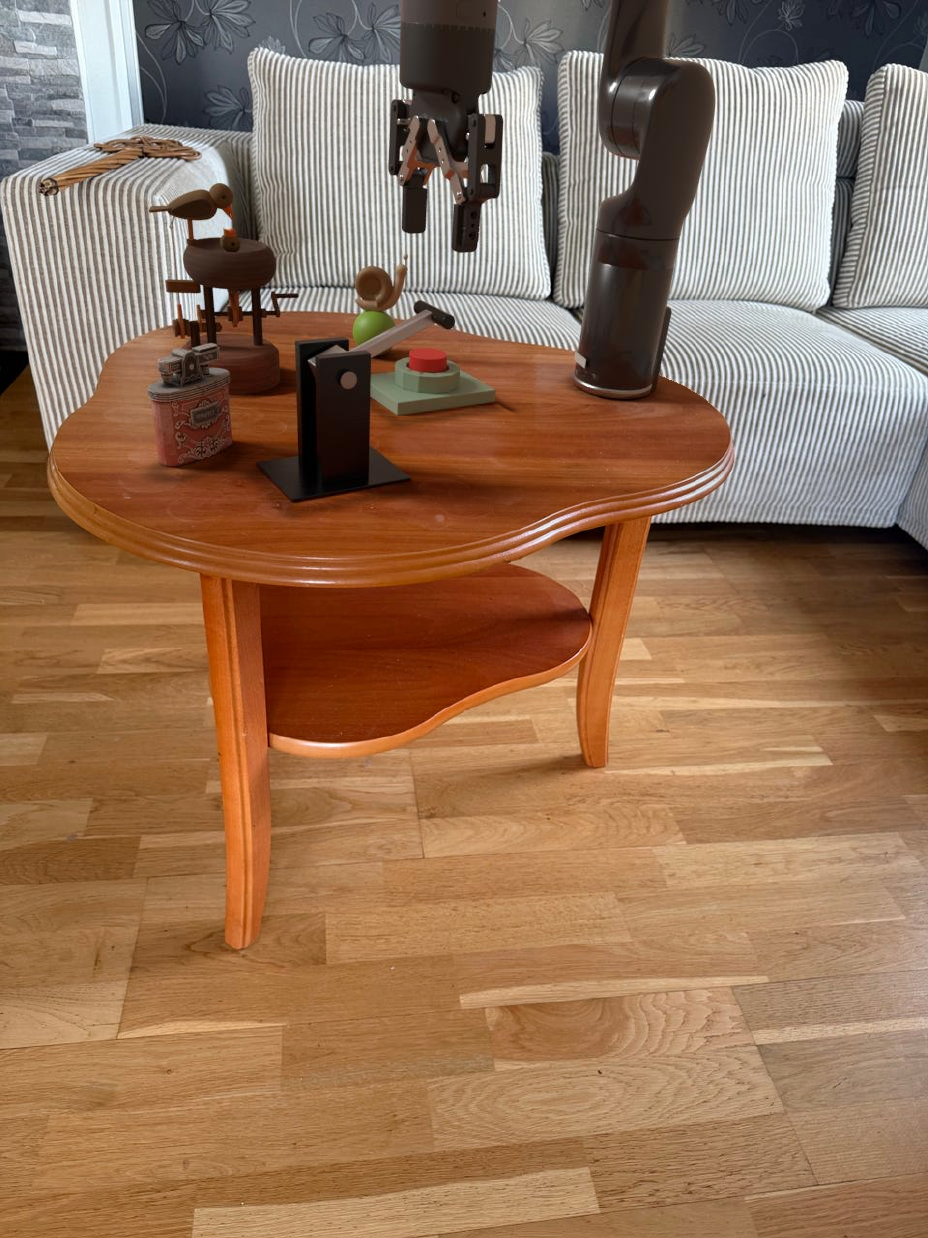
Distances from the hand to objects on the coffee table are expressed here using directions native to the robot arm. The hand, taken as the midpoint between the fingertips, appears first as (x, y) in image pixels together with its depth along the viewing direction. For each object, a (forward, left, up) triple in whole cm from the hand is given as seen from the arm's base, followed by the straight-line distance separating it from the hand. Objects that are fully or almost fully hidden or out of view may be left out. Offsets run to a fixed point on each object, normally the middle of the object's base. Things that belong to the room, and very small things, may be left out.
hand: (437, 241), depth 77 cm
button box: (-5, -8, -18) cm, 20 cm away
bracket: (+13, +7, -18) cm, 23 cm away
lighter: (+23, -2, -18) cm, 29 cm away
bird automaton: (+11, -22, -18) cm, 31 cm away
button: (-5, -8, -15) cm, 17 cm away
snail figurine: (-8, -25, -18) cm, 32 cm away
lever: (+9, +7, -7) cm, 13 cm away
